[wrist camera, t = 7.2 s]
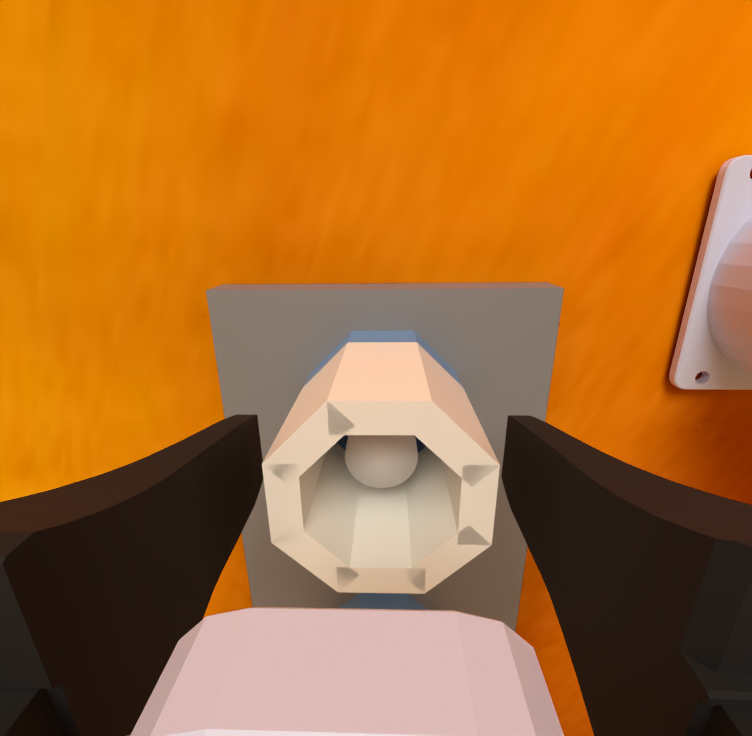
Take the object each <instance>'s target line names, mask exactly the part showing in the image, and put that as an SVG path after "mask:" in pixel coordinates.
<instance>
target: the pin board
mask: <svg viewBox="0 0 752 736" xmlns="http://www.w3.org/2000/svg"><path fill="white" fill-rule="evenodd" d="M563 291H564V288H562V287H559V286H556V285H553V284H550V283H547V282H537V283H383V284H230V285H220V286H217V287H214V288H211V289H208V290H206V293H207V300H208V307H209V314H210V321H211V327H212V334H213V341H214V348H215V355H216V361H217V368H218V375H219V382H220V388H221V395H222V402H223V409H224V416H225V419H226V418H228V417H231V416H234V415H237V414H242V415H257V416H258V425H259V433H260V442H261V450H262V459H263V461H264V459H265V457H266V455H267V453H268V451H269V450H270V448H271V446H272V444H273V442H274V440H275V438H276V436H277V435H278V433H279V431H280V429H281V427H282V425H283V423H284V422H285V420H286V418H287V416H288V414H289V412H290V410H291V409H292V407H293V405H294V403H295V401H296V399H297V397H298V396H299V394H300V392H301V390H302V388H303V386H304V384H305V383H306V381H307V379H308V377H309V375H310V373H311V372H312V371H313V370H314V369H315V368H316V367H317V366H318V365H319V364H320V363H321V362H322V361H323V360H324V359H325V358H326V357H327V356H328V355H329V354H330V353H331V352H332V351H333V350H334V349H335V347H336V346H337V345H338V344H339V343H340V342H341V341H342V340H343V339H344V338H345V337H346V336H347V335H348V334H349V333H350V332H351V331H415V332H416V333H417V334H418V335H419V336H420V337H421V338H422V339H423V340H424V341H425V342H426V343H427V344H428V345H429V346H430V347H431V348H432V349H433V350H434V351H435V352H436V353H437V354H438V355H439V356H440V357H441V358H442V359H443V360H444V361H445V362H446V363H447V364H448V365H449V366H450V367H451V368H452V369H453V370H454V371H455V372H456V373H457V375H458V378H459V380H460V382H461V384H462V386H463V388H464V390H465V392H466V395H467V397H468V399H469V401H470V403H471V405H472V407H473V409H474V411H475V414H476V416H477V418H478V420H479V422H480V424H481V426H482V428H483V430H484V433H485V435H486V437H487V439H488V441H489V443H490V445H491V447H492V450H493V452H494V454H495V456H496V458H497V460H498V462H499V464H500V469H499V479H498V489H497V499H496V508H495V518H494V528H493V538H492V545H491V546H490V547H488V548H487V549H486V550H484V551H483V552H482V553H480V554H479V555H477V556H476V557H475V558H473V559H472V560H470V561H469V562H468V563H466V564H465V565H464V566H462V567H461V568H459V569H458V570H457V571H455V572H454V573H453V574H451V575H450V576H448V577H447V578H446V579H444V580H443V581H441V582H440V583H439V584H437V585H436V586H435V587H433V588H432V589H430V590H429V591H428V592H426V593H425V594H413V593H389V594H409V595H410V596H412V597H413V598H414V599H415V600H417V601H418V602H419V603H421V604H422V605H423V606H424V607H426V608H427V609H428V610H454V611H459V612H464V613H468V614H473V615H477V616H482V617H486V618H491V619H495V620H498V621H501V622H503V623H504V624H506V625H507V626H508V627H509V628H510V629H512V630H513V631H514V632H515V630H516V623H517V616H518V609H519V602H520V595H521V588H522V581H523V573H524V566H525V559H526V552H527V543H526V541H525V539H524V537H523V535H522V533H521V530H520V528H519V526H518V524H517V522H516V519H515V517H514V515H513V513H512V510H511V508H510V505H509V502H508V499H507V496H506V492H505V489H504V485H503V482H502V478H501V475H502V466H503V456H504V447H505V438H506V428H507V419H508V415H530V416H533V417H535V418H537V419H540V420H542V421H544V422H545V418H546V411H547V404H548V397H549V390H550V383H551V376H552V369H553V362H554V354H555V347H556V340H557V333H558V326H559V319H560V312H561V305H562V298H563ZM417 461H418V452H417V444H416V437H415V435H348V440H347V445H346V450H345V462H346V465H347V468H348V470H349V471H350V473H351V474H352V475H353V477H354V478H355V479H357V480H358V481H359V482H361V483H363V484H365V485H367V486H370V487H374V488H390V487H394V486H397V485H399V484H401V483H403V482H404V481H406V480H407V479H408V478H409V477H410V476H411V475H412V473H413V472H414V470H415V468H416V465H417ZM242 538H243V545H244V551H245V558H246V565H247V572H248V579H249V585H250V592H251V599H252V606H253V607H294V608H341V607H342V606H343V605H345V604H346V603H347V602H349V601H350V600H351V599H353V598H354V597H355V596H357V595H358V594H359V593H348V592H337V591H335V590H334V589H333V588H331V587H330V586H329V585H327V584H326V583H325V582H323V581H322V580H321V579H319V578H318V577H317V576H315V575H314V574H313V573H311V572H310V571H309V570H307V569H306V568H305V567H303V566H302V565H301V564H299V563H298V562H297V561H295V560H294V559H293V558H291V557H290V556H289V555H287V554H286V553H285V552H283V551H282V550H281V549H279V548H278V547H277V546H275V545H274V544H273V543H271V536H270V528H269V520H268V512H267V503H266V495H265V487H264V479H263V482H262V485H261V488H260V492H259V494H258V497H257V500H256V503H255V506H254V508H253V510H252V512H251V514H250V516H249V518H248V520H247V522H246V524H245V526H244V528H243V530H242Z"/></svg>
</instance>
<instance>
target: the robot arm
mask: <svg viewBox="0 0 752 736" xmlns="http://www.w3.org/2000/svg"><path fill="white" fill-rule="evenodd" d="M751 169H752V155H744V156H740V157H735V158H731V159H730V160H728V161H726V162H725V163H724V164H723V166H722V167H721V168H720V170H719V173H718V176H717V180H716V184H715V188H714V192H713V196H712V201H711V205H710V209H709V213H708V217H707V221H706V225H705V229H704V233H703V238H702V242H701V246H700V250H699V254H698V258H697V262H696V266H695V270H694V275H693V279H692V283H691V287H690V291H689V295H688V299H687V303H686V307H685V312H684V316H683V320H682V324H681V328H680V332H679V336H678V340H677V344H676V349H675V353H674V357H673V361H672V365H671V369H670V373H669V380H670V382H671V384H673V385H674V386H676V387H678V388H679V389H684V390H752V179H751V178H750V171H751ZM700 372H702V375H701V377H700V378H699V379H697V380H695V377H696V375H697V374H698V373H700ZM262 463H263V459H262V450H261V442H260V433H259V425H258V416H257V415H242V414H237V415H234V416H231V417H228V418H226V419H224V420H222V421H219V422H217V423H215V424H213V425H211V426H209V427H207V428H205V429H204V430H202V431H200V432H198V433H196V434H194V435H192V436H190V437H188V438H186V439H184V440H182V441H180V442H178V443H175V444H173V445H171V446H169V447H167V448H165V449H163V450H161V451H158V452H156V453H154V454H152V455H150V456H148V457H145V458H143V459H141V460H138V461H136V462H133V463H131V464H128V465H126V466H123V467H120V468H118V469H115V470H112V471H110V472H107V473H104V474H101V475H98V476H95V477H92V478H88V479H85V480H82V481H79V482H75V483H72V484H69V485H66V486H62V487H59V488H56V489H52V490H49V491H45V492H41V493H37V494H33V495H29V496H25V497H21V498H17V499H12V500H8V501H4V502H0V736H564V734H563V731H562V728H561V725H560V722H559V720H558V717H557V714H556V711H555V708H554V705H553V702H552V699H551V697H550V694H549V691H548V688H547V685H546V682H545V679H544V676H543V673H542V671H541V668H540V665H539V662H538V659H537V656H536V653H535V650H534V648H533V647H532V646H531V645H530V644H529V643H527V642H526V641H525V640H524V639H523V638H521V637H520V636H519V635H518V634H516V633H515V632H514V631H513V630H512V629H510V628H509V627H508V626H507V625H506V624H504V623H503V622H501V621H498V620H495V619H491V618H486V617H482V616H477V615H473V614H468V613H464V612H459V611H454V610H405V609H349V608H294V607H251V608H245V609H240V610H235V611H230V612H224V613H219V614H214V615H210V616H206V617H205V618H204V619H203V617H204V614H205V611H206V609H207V606H208V603H209V601H210V598H211V595H212V593H213V590H214V588H215V585H216V583H217V581H218V579H219V577H220V574H221V572H222V570H223V568H224V566H225V564H226V562H227V560H228V558H229V556H230V554H231V552H232V550H233V548H234V546H235V544H236V542H237V540H238V538H239V536H240V534H241V532H242V530H243V528H244V526H245V524H246V522H247V520H248V518H249V516H250V514H251V512H252V510H253V508H254V506H255V503H256V500H257V497H258V494H259V492H260V488H261V485H262V482H263V470H262ZM501 478H502V482H503V485H504V489H505V492H506V496H507V499H508V502H509V505H510V508H511V510H512V513H513V515H514V517H515V519H516V522H517V524H518V526H519V528H520V530H521V533H522V535H523V537H524V539H525V541H526V543H527V545H528V548H529V550H530V552H531V554H532V556H533V558H534V560H535V563H536V565H537V567H538V569H539V571H540V573H541V575H542V578H543V580H544V582H545V585H546V587H547V590H548V592H549V594H550V597H551V600H552V603H553V606H554V609H555V612H556V615H557V617H558V620H559V623H560V626H561V629H562V632H563V635H564V638H565V641H566V644H567V647H568V651H569V654H570V657H571V660H572V663H573V666H574V669H575V672H576V676H577V679H578V682H579V685H580V689H581V692H582V695H583V699H584V702H585V706H586V709H587V712H588V716H589V719H590V723H591V726H592V729H593V733H594V736H752V505H749V504H745V503H742V502H738V501H734V500H731V499H727V498H724V497H720V496H717V495H713V494H710V493H707V492H704V491H701V490H697V489H694V488H691V487H688V486H685V485H682V484H679V483H676V482H673V481H670V480H667V479H665V478H662V477H659V476H657V475H654V474H652V473H649V472H647V471H644V470H641V469H639V468H636V467H634V466H632V465H629V464H627V463H625V462H623V461H620V460H618V459H616V458H614V457H612V456H610V455H608V454H605V453H603V452H601V451H599V450H597V449H595V448H593V447H591V446H589V445H587V444H585V443H583V442H582V441H580V440H578V439H576V438H574V437H572V436H570V435H568V434H566V433H565V432H563V431H561V430H559V429H557V428H555V427H553V426H552V425H550V424H548V423H546V422H544V421H542V420H540V419H537V418H535V417H533V416H530V415H508V419H507V428H506V438H505V447H504V456H503V466H502V475H501ZM202 619H203V620H202Z"/></svg>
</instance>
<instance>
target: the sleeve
mask: <svg viewBox="0 0 752 736" xmlns="http://www.w3.org/2000/svg"><path fill="white" fill-rule="evenodd" d="M348 435H415V437H416V444H417V452H418V461H417V465H416V468H415V470H414V472H413V473H412V475H411V476H410V477H409V478H408V479H407V480H406V481H404V482H403V483H401V484H399V485H397V486H394V487H390V488H374V487H370V486H367V485H365V484H363V483H361V482H359V481H358V480H357V479H355V478H354V477H353V475H352V474H351V473H350V471H349V470H348V468H347V465H346V462H345V450H346V445H347V440H348ZM499 469H500V464H499V462H498V460H497V458H496V456H495V454H494V452H493V450H492V447H491V445H490V443H489V441H488V439H487V437H486V435H485V433H484V430H483V428H482V426H481V424H480V422H479V420H478V418H477V416H476V414H475V411H474V409H473V407H472V405H471V403H470V401H469V399H468V397H467V395H466V392H465V390H464V388H463V386H462V384H461V382H460V380H459V378H458V375H457V373H456V372H455V371H454V370H453V369H452V368H451V367H450V366H449V365H448V364H447V363H446V362H445V361H444V360H443V359H442V358H441V357H440V356H439V355H438V354H437V353H436V352H435V351H434V350H433V349H432V348H431V347H430V346H429V345H428V344H427V343H426V342H425V341H424V340H423V339H422V338H421V337H420V336H419V335H418V334H417V333H416V332H415V331H351V332H350V333H349V334H348V335H347V336H346V337H345V338H344V339H343V340H342V341H341V342H340V343H339V344H338V345H337V346H336V347H335V349H334V350H333V351H332V352H331V353H330V354H329V355H328V356H327V357H326V358H325V359H324V360H323V361H322V362H321V363H320V364H319V365H318V366H317V367H316V368H315V369H314V370H313V371H312V372H311V373H310V375H309V377H308V379H307V381H306V383H305V384H304V386H303V388H302V390H301V392H300V394H299V396H298V397H297V399H296V401H295V403H294V405H293V407H292V409H291V410H290V412H289V414H288V416H287V418H286V420H285V422H284V423H283V425H282V427H281V429H280V431H279V433H278V435H277V436H276V438H275V440H274V442H273V444H272V446H271V448H270V450H269V451H268V453H267V455H266V457H265V459H264V461H263V463H262V470H263V479H264V487H265V495H266V503H267V512H268V520H269V528H270V536H271V543H273V544H274V545H275V546H277V547H278V548H279V549H281V550H282V551H283V552H285V553H286V554H287V555H289V556H290V557H291V558H293V559H294V560H295V561H297V562H298V563H299V564H301V565H302V566H303V567H305V568H306V569H307V570H309V571H310V572H311V573H313V574H314V575H315V576H317V577H318V578H319V579H321V580H322V581H323V582H325V583H326V584H327V585H329V586H330V587H331V588H333V589H334V590H335V591H337V592H348V593H413V594H425V593H426V592H428V591H429V590H430V589H432V588H433V587H435V586H436V585H437V584H439V583H440V582H441V581H443V580H444V579H446V578H447V577H448V576H450V575H451V574H453V573H454V572H455V571H457V570H458V569H459V568H461V567H462V566H464V565H465V564H466V563H468V562H469V561H470V560H472V559H473V558H475V557H476V556H477V555H479V554H480V553H482V552H483V551H484V550H486V549H487V548H488V547H490V546H491V545H492V538H493V528H494V518H495V508H496V499H497V489H498V479H499Z"/></svg>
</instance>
